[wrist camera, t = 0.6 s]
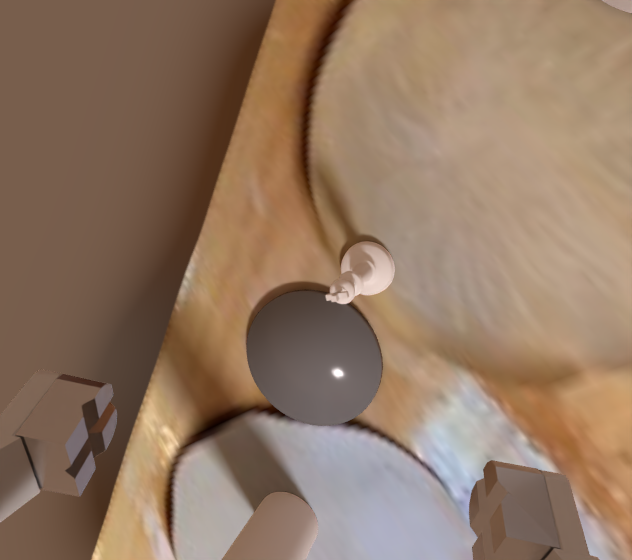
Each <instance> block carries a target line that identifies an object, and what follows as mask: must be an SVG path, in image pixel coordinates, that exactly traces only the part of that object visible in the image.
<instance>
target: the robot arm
mask: <svg viewBox="0 0 632 560" xmlns="http://www.w3.org/2000/svg"><path fill="white" fill-rule="evenodd" d="M602 1H604V2H605V3H607V4H609V5H611V6H613V7H615V8H617V9H620V10H622V11H625V12H629V13H632V0H602ZM113 395H114V394H113V391H112V386H111V384H107V383H102V382H98V381H93V380H89V379H84V378H80V377H75V376H71V375H66V374H63V373H58V372H53V371H47V370H43V369H40V370H39V371H37V372H36V373H34V374H33V375H32V376H31V377H30V379H29V380H28V381H27V382H26V384H25V385H24V386H23V387H22V389H21V390H20V391H19V392H18V394H17V395H16V396H15V397H14V399H13V400H12V401H11V402H10V404H9V405H8V406H7V407H6V409H5V410H4V411H3V412H2V414H1V415H0V522H1V521H3V520H4V519H5V518H7V517H8V516H9V515H11V514H12V513H13V512H15V510H17V509H18V508H20V507H21V506H22V505H24V504H25V503H26V502H28V501H29V500H30V499H32V498H33V497H34V496H36V495H37V494H38V493H40V490H46V491H51V492H57V493H62V494H68V495H73V496H79V497H80V496H81V494H82V492H83V490H84V488H85V487H86V485H87V483H88V481H89V479H90V478H91V476H92V474H93V472H94V471H95V463H94V457H96V456H97V455H99V454H101V453H102V452H104V451H105V450H106V449H107V446H108V445H109V443H110V441H111V439H112V436H113V434H114V430H115V427H116V421H117V412H116V408H115V407H114V406H113V405H112V404H111V403H110V400H111V398H112V396H113ZM483 472H484V478H483V479H481V480H479V481H477V482H476V484H475V486H474V488H473V490H472V493H471V498H470V503H469V519H470V527H471V528H472V529H473V531H474V532H475V534H476V535H477V537H478V539H477V540H476V542H475V543H474V545H473V547H472V552H473V560H599V559H598V557H594V556H590V554H589V551H588V547H587V544H586V540H585V537H584V533H583V529H582V526H581V522H580V519H579V515H578V511H577V508H576V504H575V501H574V497H573V493H572V490H571V486H570V483H569V480H568V479H567V477H566V476H565V475H562V474H558V473H553V472H547V471H542V470H538V469H536V468H530V467H525V466H520V465H514V464H509V463H503V462H498V461H493V460H491V461H489V462H487V464H486V466H485V467H484V469H483Z"/></svg>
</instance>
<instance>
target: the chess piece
mask: <svg viewBox="0 0 632 560" xmlns="http://www.w3.org/2000/svg"><path fill="white" fill-rule="evenodd" d="M341 273H342V274H341V276H340V277H339V279H337V280H335V281H334V282H333V283H332V284H331V286H330V293H329V294H326V295H325V296H326V300H327V301H329V300H331V302H337V303H339V304H347V303H349V302H351V301H352V299H353V298H354V296H356V295H358V294H363V295H374V294H377V293H379V292H381V291H383V290H385V289H386V288H387V287H388V286H389V285H390V283H391V282H392V280H393V277H394V273H395V266H394V261H393V259H392V256H391V255H390V253H389V252H388V251H387V250H386V249H385V248H384V247H383V246H381V245H379V244H377V243H374V242H369V241H364V242H359V243H357V244H355V245H353V246H352V247H350V248H349V249H348V250H347V252H346V253H345V255H344V257H343V259H342V262H341Z"/></svg>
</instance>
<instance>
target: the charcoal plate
mask: <svg viewBox="0 0 632 560" xmlns="http://www.w3.org/2000/svg"><path fill="white" fill-rule="evenodd" d="M326 294H328V293H325V292H321V291H315V290H298V291H292V292H289V293H285V294H283V295H281V296H279V297H277V298H276V299H274V300H272V301H271V302H269V303H268V304H267V305H266V306H265V307H263V308H262V309H261V311H260V312H259V313H258V314H257V316H256V317H255V319H254V320H253V323H252V325H251V327H250V330H249V334H248V338H247V359H248V364H249V368H250V371H251V374H252V377H253V379H254V381H255V383H256V385H257V386H258V388H259V389H260V391H261V392H262V394H263V395H264V396H265V397H266V399H267V400H268V401H269V402H270V403H271V404H272V405H273V406H275V407H276V408H277V409H278V410H279V411H281V412H282V413H284V414H286V415H287V416H289V417H291V418H293V419H295V420H297V421H300V422H303V423H307V424H311V425H318V426H330V425H337V424H341V423H344V422H347V421H349V420H351V419H353V418H355V417H356V416H358V415H359V414H360V413H362V412H363V411H364V410H365V409H366V408H367V407H368V405H369V404H370V403H371V401H372V400H373V398H374V396H375V394H376V393H377V390H378V388H379V385H380V382H381V378H382V370H383V362H382V354H381V349H380V346H379V343H378V340H377V337H376V335H375V333H374V331H373V330H372V328H371V326H370V325H369V323H368V322H367V321H366V320H365V318H364V317H363V316H362V315H361V314H360V313H359V312H358V311H357V310H356V309H355V308H354V307H352V306H351V305H350V304H348V303H347V304H339V303H337V302H331V300H329V301H327V300H326V296H325V295H326Z"/></svg>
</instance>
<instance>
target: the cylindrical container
mask: <svg viewBox="0 0 632 560" xmlns="http://www.w3.org/2000/svg"><path fill="white" fill-rule="evenodd" d="M317 534H318V521H317V518H316V516H315V514H314V512H313V510H312V509H311V508H310V506H309V505H308V504H307V503H306V502H305V501H304V500H302V499H301V498H299V497H298V496H296V495H293V494H291V493H287V492H273V493H271V494H269V495H267V496H266V497H265V498H264V499H263V500H262V502H261V503H260V505H259V506H258V508H257V509H256V510H255V512H254V513H253V515H252V516H251V518H250V519H249V521H248V522H247V524H246V525H245V526H244V528H243V529H242V531H241V532H240V534H239V535H238V537H237V538H236V540H235V541H234V542H233V544H232V545H231V547H230V548H229V550H228V551H227V553H226V554H225V555H224V557H223V558H222V560H305V559H306V557H307V555H308V553H309V551H310V549H311V547H312V545H313V543H314V541H315V539H316V537H317Z"/></svg>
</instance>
